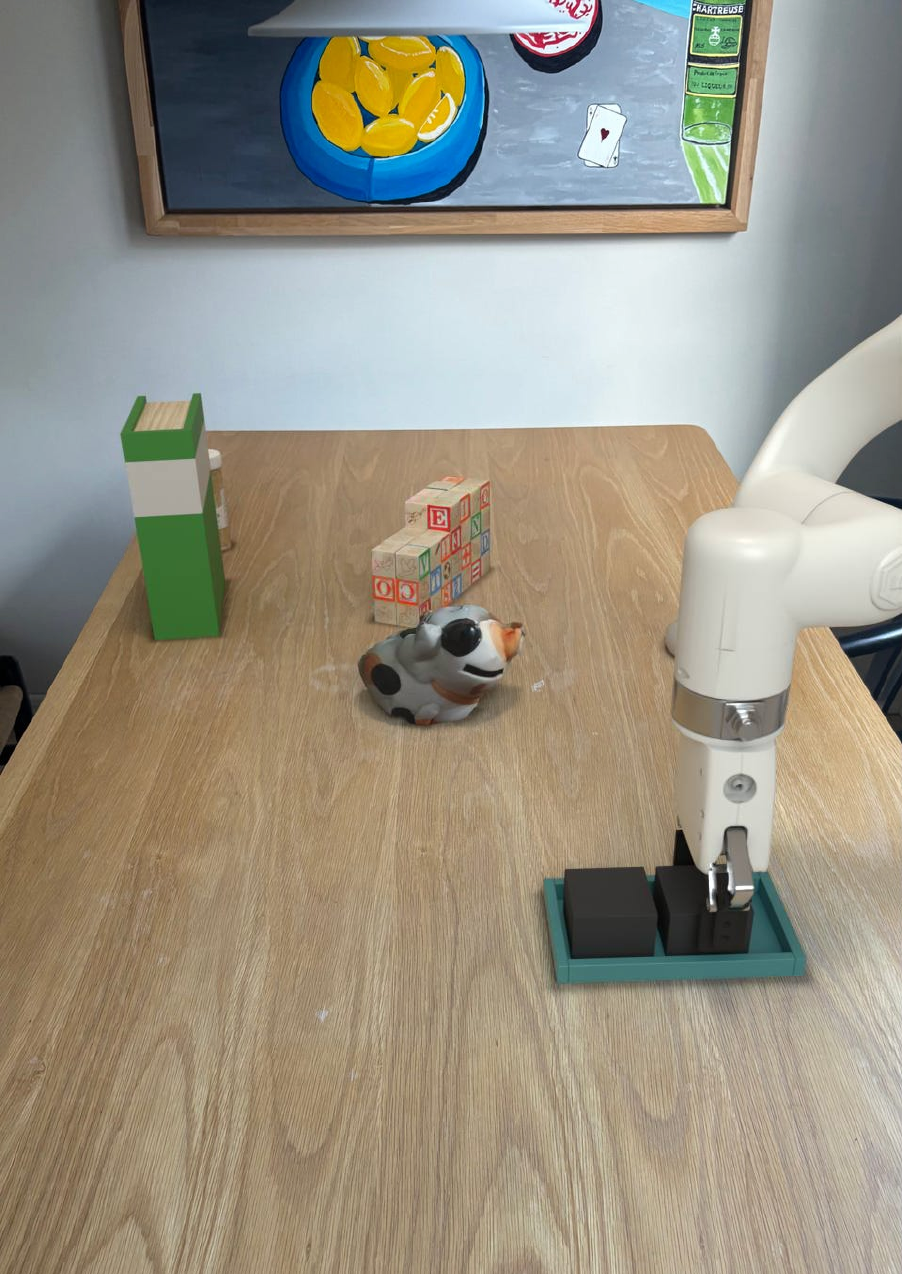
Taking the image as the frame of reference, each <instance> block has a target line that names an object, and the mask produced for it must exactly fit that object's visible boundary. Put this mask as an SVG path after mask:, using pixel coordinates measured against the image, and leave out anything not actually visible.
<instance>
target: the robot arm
mask: <svg viewBox="0 0 902 1274" xmlns="http://www.w3.org/2000/svg"><path fill="white" fill-rule="evenodd" d="M901 421H902V313H901V314H900V315H899V316H898V317H897V318H895V319H894V320H893V321H892V322H890V323H889V324H887V325H886V326H885V327H883V328H881V329H879V330H878V331H877V332H875V333H874V334H872V335H871V336H869V337H867V338H866V339H864V340H862V342H860V343H859V344H857V345H856V346H855V347H853V348H852V349H851V350H849V351H848V352H847V353H846V354H844V355H843V356H842V357H840V358H839V359H838V360H837V361H836V362H834V363H833V364H832V365H831V366H829V367H828V368H826V369H825V370H824V371H823V372H822V373H820V375H818V376H817V377H815V378H814V379H813V380H812V381H811V382H810V383H808V384H807V385H806V386H805V387H804V388H803V389H801V391H799V393H798V394H797V395H796V396H795V397H794V398H793V399H792V400H791V402H790V403H789V404H788V405H787V407H785V409H783V411H782V412H781V414H780V415H779V416H778V417H777V420H776V421H775V423H774V424H773V426H772V428H770V430H769V432H768V434H767V436H766V437H765V439H764V440H763V442H762V444H761V446H760V448H759V449H758V450H757V453H756V455H755V456H754V458H753V460H752V461H751V463H750V464H749V466H748V468H747V470H746V472H745V473H744V475H743V477H742V479H741V481H740V483H739V486H738V488H737V491H736V492H735V495H734V496H733V499H732V503H731V505H730V507H728V508H727V507H726V508H721V509H715V510H712V511H709V512H707V513H705V514H702V515H700V516H699V517H698V518H697V519H696V520H695V521H694V522H692V523H691V525H690V527H689V528H688V530H687V532H686V535H685V538H684V543H683V544H684V545H683V550H682V551H683V552H682V562H681V563H682V564H681V575H680V588H679V589H680V590H679V601H678V614H677V619H678V624H677V637H676V650H675V656H674V664H673V673H672V674H673V675H672V685H671V686H672V687H671V696H670V697H671V698H670V699H671V700H670V708H669V721H670V724H671V725H672V727H674V729H675V730H676V731H677V732H679V738H678V745H677V754H676V761H675V762H676V763H675V775H674V804H675V810H676V823H677V827H678V829H675V835H674V843H673V844H674V847H673V855H672V857H673V858H672V866H679V865H696V867H697V868H698V869H699V870H700V871H701V872H703V873H704V874H705V890H706V903H701V908H700V917H699V926H698V935H697V947H698V950H699V951H700V952H723V951H739V950H741V949H742V948H743V946H744V938H745V931H746V924H747V916H748V911H749V909H750V903H751V902H752V899H751V897H752V896H753V894H754V884H753V878H752V872H760V873H763V872H767V870H768V868H769V867H770V859H771V850H772V841H773V840H772V839H773V828H774V817H775V806H776V791H777V790H776V789H777V748H776V747H777V746H776V739H777V738H778V737H780V736H781V735H782V733H783V732H784V730H785V728H786V721H787V714H788V705H789V700H790V694H791V693H790V692H791V686H792V676H793V671H794V663H795V654H796V649H797V642H798V635H799V634H800V632H802V631H803V630H805V629H814V628H815V629H816V628H846V627H848V628H849V627H861V626H868V625H869V626H870V625H875V624H879V623H883V622H885V621H888V620H891V619H893V618H896V617H897V616H899V615H901V614H902V509H901V508H898V507H895V506H894V505H891V504H888V503H885V502H883V501H880V500H877V499H876V498H872V497H870V496H867V495H864V494H862V493H860V492H858V491H855V490H852V489H850V488H847V487H846V486H842V485H839V484H837V481H838V479H839V478H840V476H841V475H842V473H843V472H844V470H845V469H846V468H847V466H848V465H849V464H850V463H851V461H852V460H853V459H854V458H855V456H856V455H857V454H858V453H859V452H860V450H862V449H863V448H864V447H865V446H867V444H868V443H869V442H870V441H872V440H873V439H874V438H875V437H877V436H878V435H879V434H881V433H882V432H884V431H885V430H886V429H888V428H890V427H893V425H896V424H897V423H899V422H901ZM721 856H723V857H724V856H725V859H726V864H727V865H713V864H717V860H718V859H719V857H721ZM716 874H729V885H728V890H722V891H721V892H719V893H718V894H717V883H716Z"/></svg>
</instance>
